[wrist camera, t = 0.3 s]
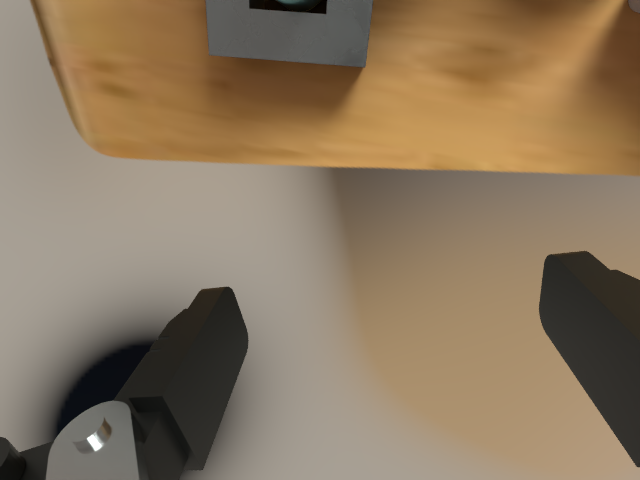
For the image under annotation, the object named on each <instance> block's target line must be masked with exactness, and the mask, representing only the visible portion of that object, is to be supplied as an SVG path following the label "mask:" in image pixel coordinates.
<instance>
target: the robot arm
mask: <svg viewBox="0 0 640 480" xmlns="http://www.w3.org/2000/svg"><path fill="white" fill-rule="evenodd" d="M539 313H540V319H541V323H542V326H543V328H544V330H545V332H546V334H547V335H548V337H549V338H550V340H551V341H552V343H553V344H554V346H555V347H556V349H557V350H558V351H559V353H560V354H561V356H562V357H563V359H564V360H565V362H566V363H567V364H568V366H569V367H570V369H571V371H572V372H573V373H574V375H575V376H576V378H577V379H578V381H579V382H580V384H581V385H582V387H583V388H584V390H585V391H586V393H587V394H588V396H589V397H590V398H591V400H592V401H593V403H594V404H595V406H596V407H597V409H598V410H599V411H600V413H601V415H602V416H603V418H604V419H605V421H606V422H607V423H608V425H609V426H610V428H611V429H612V431H613V432H614V434H615V435H616V437H617V438H618V440H619V441H620V443H621V444H622V446H623V447H624V448H625V450H626V451H627V453H628V454H629V456H630V457H631V459H632V460H633V462H634V463H635V465H636V466H637V467H640V280H638V279H636V278H634V277H632V276H629V275H627V274H625V273H623V272H620V271H618V270H609V269H608V268H607V267H606V266H605V265H604V264H602V263H601V262H600V261H599V260H597V259H596V258H595V257H594V256H593V255H591V254H590V253H589V252H587V251H580V252H570V253H561V254H551V255H548V256H547V257H546V259H545V262H544V270H543V278H542V286H541V295H540V304H539ZM247 349H248V333H247V329H246V326H245V323H244V320H243V318H242V314H241V311H240V309H239V306H238V303H237V300H236V297H235V294H234V292H233V290H232V289H231V288H230V287H219V288H210V289H202V290H201V291H200V292H199V293H198V294H197V296H196V297H195V299H194V300H193V302H192V303H191V305H190V306H189V308H188V309H184V310H183V311H182V312H180V313H179V314H178V315H177V316H176V317H174V318H173V319H172V320H171V321H170V322H169V323H168V324H167V325H166V327H165V329H164V330H163V331H162V333H161V334H160V336H159V339H158V340H156V341H155V343H154V344H153V345H152V347H151V348H150V352H148V353H147V354H146V355H145V357H144V358H143V359H142V361H141V362H140V364H139V365H138V366H137V368H136V369H135V371H134V372H133V374H132V375H131V376H130V378H129V379H128V381H127V382H126V384H125V385H124V386H123V388H122V389H121V391H120V392H119V394H118V395H117V396H116V398H115V399H114V400H113V401H109V402H105V403H102V404H99V405H96V406H94V407H92V408H90V409H88V410H86V411H85V412H83V413H82V414H80V415H79V416H77V417H76V418H75V419H74V420H72V421H71V422H70V423H69V424H68V425H67V426H66V427H65V428H64V429H63V430H62V431H61V433H60V434H59V435H58V436H57V438H56V439H55V441H53V442H50V443H47V444H44V445H41V446H38V447H35V448H31V449H29V450H25V451H22V452H18V451H17V450H16V449H15V448H14V447H13V445H12V444H11V443H10V442H9V441H8V440H7V439H6V438H3V437H0V480H179V478H180V476H181V473H182V471H183V470H203V468H204V466H205V463H206V460H207V457H208V455H209V452H210V449H211V447H212V444H213V441H214V439H215V436H216V433H217V431H218V428H219V425H220V423H221V420H222V417H223V414H224V412H225V409H226V407H227V404H228V401H229V398H230V396H231V393H232V390H233V388H234V385H235V382H236V380H237V376H238V374H239V372H240V369H241V366H242V364H243V361H244V358H245V356H246V353H247Z"/></svg>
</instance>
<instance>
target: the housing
mask: <svg viewBox="0 0 640 480" xmlns="http://www.w3.org/2000/svg"><path fill="white" fill-rule="evenodd" d="M372 5H373V0H327V11H326V14H317V13H303V12H289V11H275V10H265V0H206V14H207V30H208V46H209V55H214V56H227V57H239V58H252V59H265V60H278V61H290V62H303V63H316V64H329V65H341V66H354V67H365V66H366V58H367V49H368V40H369V31H370V23H371V14H372Z"/></svg>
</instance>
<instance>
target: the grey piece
mask: <svg viewBox="0 0 640 480" xmlns="http://www.w3.org/2000/svg"><path fill="white" fill-rule="evenodd" d="M628 3H629V6H630V8H631V9H632V10H633V11H634V12H637V13H640V0H628Z"/></svg>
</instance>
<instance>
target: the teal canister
mask: <svg viewBox="0 0 640 480" xmlns="http://www.w3.org/2000/svg"><path fill="white" fill-rule="evenodd" d="M277 1H278V2H279V3H280V4H282V5H283V6H284V7H286V8H287V9H289V10H291V11H294V12H305V11H308V10H310V9H312V8H314V7H315V6H316V5H317V4H318V3H319V2H320V1H321V0H277Z"/></svg>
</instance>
